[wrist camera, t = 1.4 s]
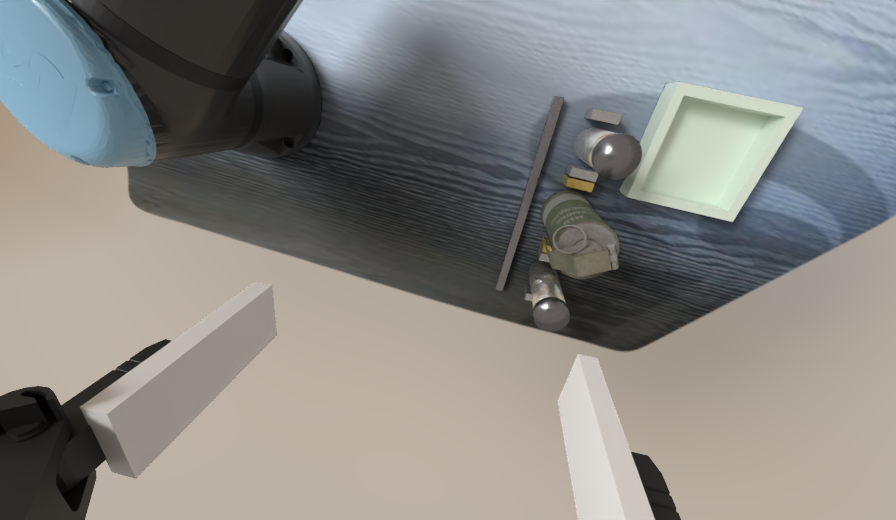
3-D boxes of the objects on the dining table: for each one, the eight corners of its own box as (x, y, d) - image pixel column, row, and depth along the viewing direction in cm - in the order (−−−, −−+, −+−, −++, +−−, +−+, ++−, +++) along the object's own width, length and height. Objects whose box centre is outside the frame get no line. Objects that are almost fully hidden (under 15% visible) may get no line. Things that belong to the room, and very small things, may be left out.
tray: (618, 191, 40) (626, 197, 37) (665, 83, 35) (678, 81, 32) (717, 214, 39) (732, 221, 36) (780, 107, 34) (803, 107, 31)
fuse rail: (495, 285, 48) (492, 332, 38) (554, 96, 37) (570, 92, 27) (546, 298, 47) (556, 349, 38) (620, 110, 36) (662, 112, 27)
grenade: (585, 183, 40) (625, 222, 27) (594, 228, 42) (634, 286, 29) (533, 198, 42) (545, 241, 28) (543, 241, 44) (559, 300, 31)
